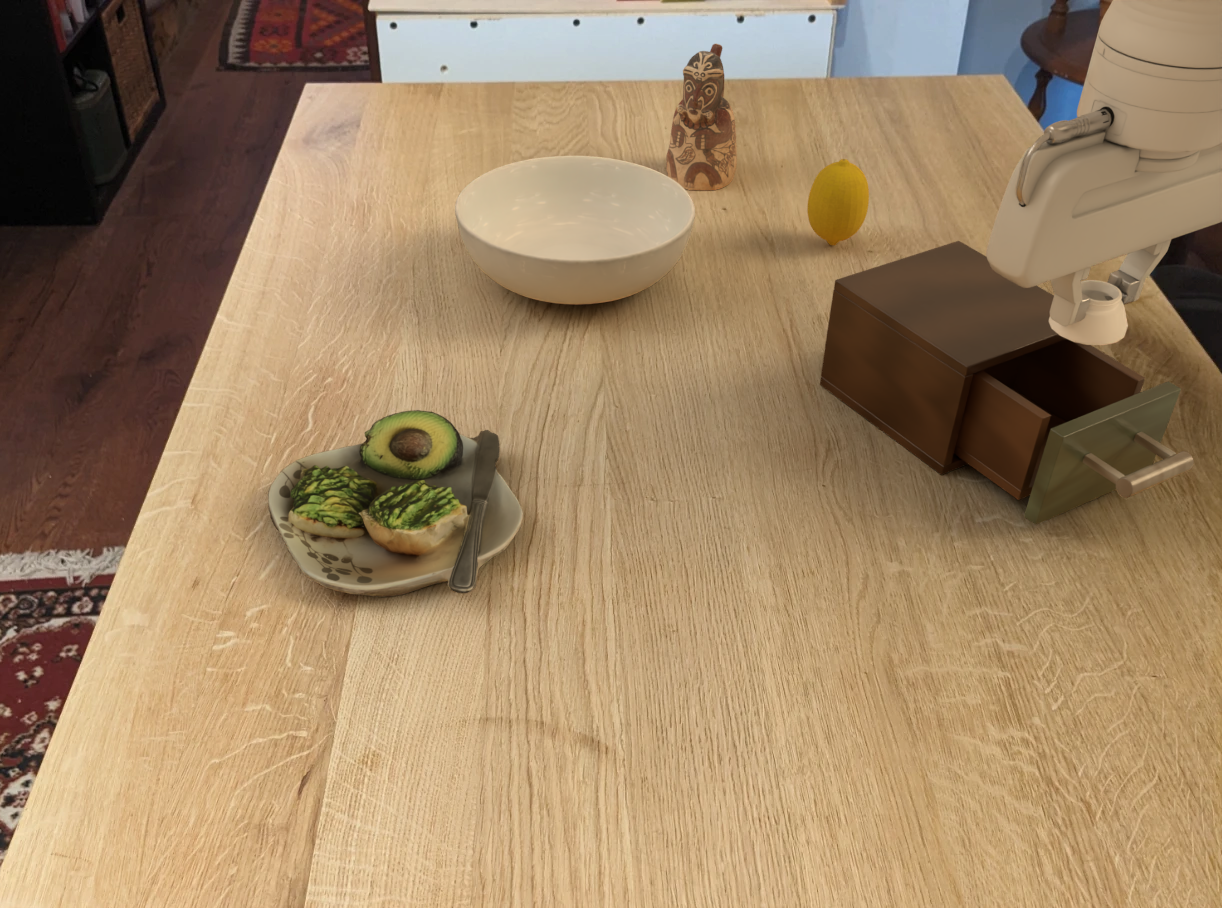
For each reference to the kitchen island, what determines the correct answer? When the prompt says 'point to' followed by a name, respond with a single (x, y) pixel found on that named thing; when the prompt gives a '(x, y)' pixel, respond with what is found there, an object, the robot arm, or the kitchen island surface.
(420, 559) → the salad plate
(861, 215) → the lemon
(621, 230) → the serving bowl
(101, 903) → the kitchen island surface
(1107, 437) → the drawer
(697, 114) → the figurine
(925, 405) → the cabinet
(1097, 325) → the white jar
